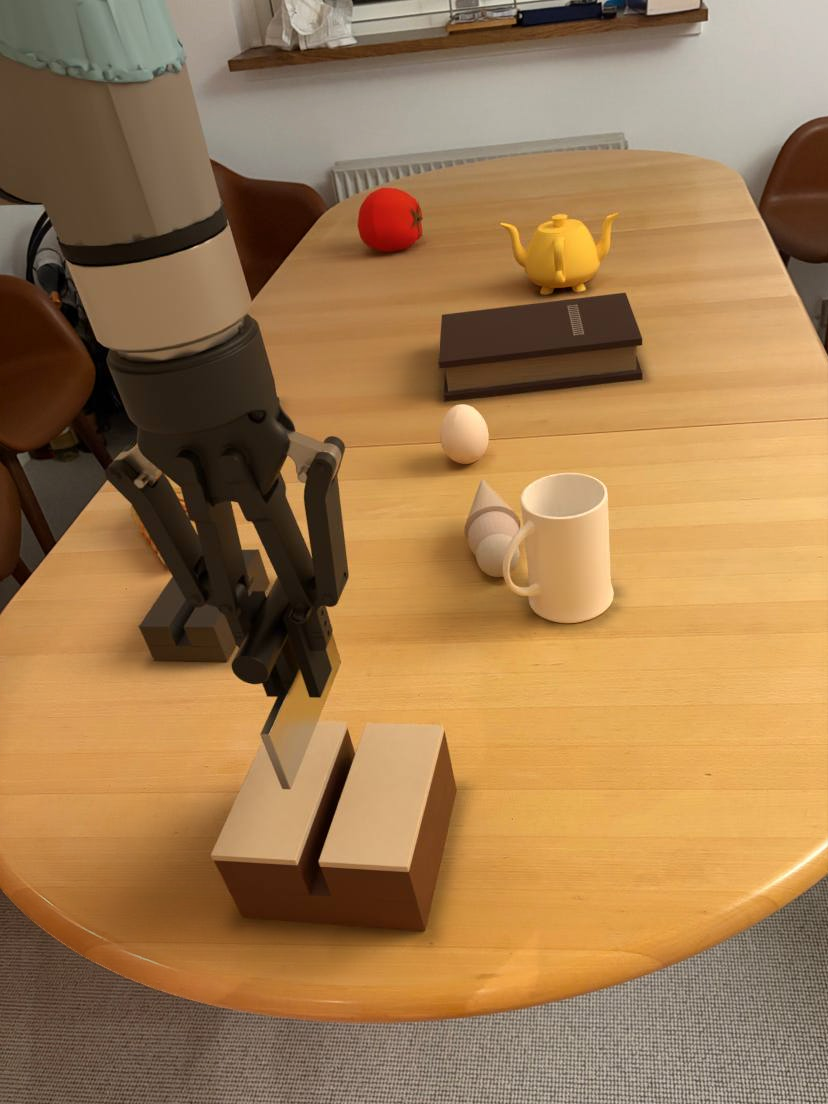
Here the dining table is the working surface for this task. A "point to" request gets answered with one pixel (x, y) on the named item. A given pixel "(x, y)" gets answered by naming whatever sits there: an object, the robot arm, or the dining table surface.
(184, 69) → the robot arm
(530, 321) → the book
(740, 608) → the dining table surface
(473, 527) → the ice cream cone
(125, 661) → the dining table surface
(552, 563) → the mug
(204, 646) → the slotted block
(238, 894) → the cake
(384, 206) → the tomato
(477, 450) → the egg
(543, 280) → the teapot
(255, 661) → the ulu knife
